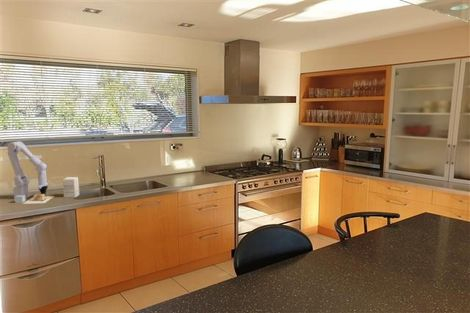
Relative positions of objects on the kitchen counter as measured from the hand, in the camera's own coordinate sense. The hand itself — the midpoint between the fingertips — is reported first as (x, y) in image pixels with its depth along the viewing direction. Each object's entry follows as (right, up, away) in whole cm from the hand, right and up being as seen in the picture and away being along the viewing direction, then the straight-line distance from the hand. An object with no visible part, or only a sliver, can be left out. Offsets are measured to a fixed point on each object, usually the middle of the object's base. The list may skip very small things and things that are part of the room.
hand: (43, 195), depth 261 cm
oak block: (+1, -2, -8) cm, 8 cm away
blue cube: (-10, -4, -13) cm, 17 cm away
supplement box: (+19, -1, +5) cm, 20 cm away
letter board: (+1, -3, -7) cm, 8 cm away
